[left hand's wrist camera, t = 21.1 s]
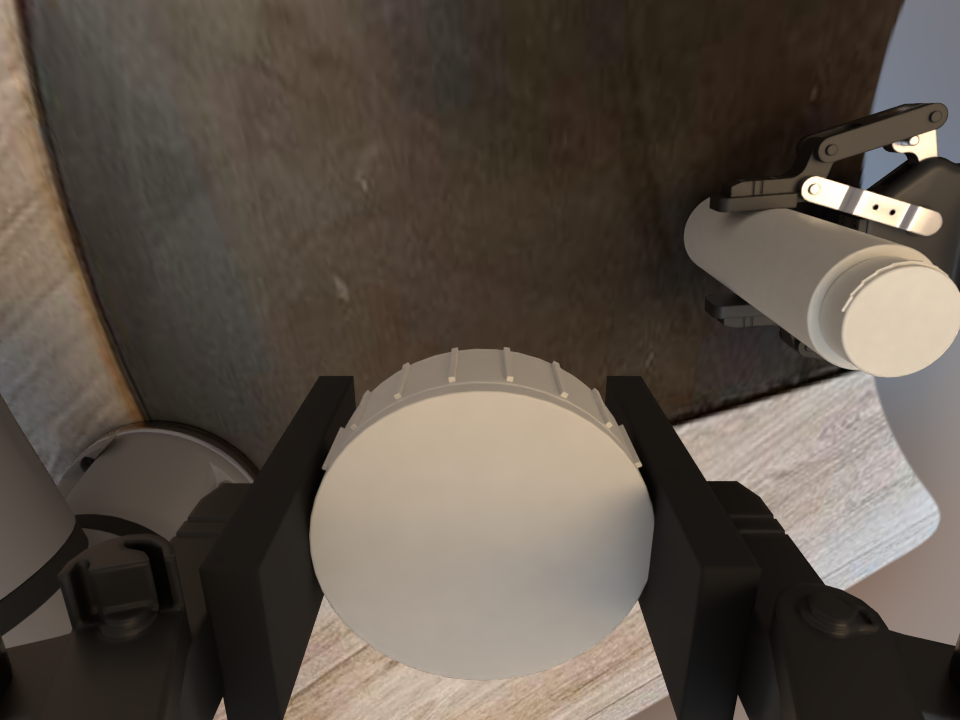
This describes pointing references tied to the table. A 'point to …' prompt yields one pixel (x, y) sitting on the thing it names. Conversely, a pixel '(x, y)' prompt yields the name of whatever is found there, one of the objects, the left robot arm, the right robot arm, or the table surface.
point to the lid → (482, 517)
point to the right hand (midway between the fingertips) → (712, 256)
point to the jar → (831, 286)
